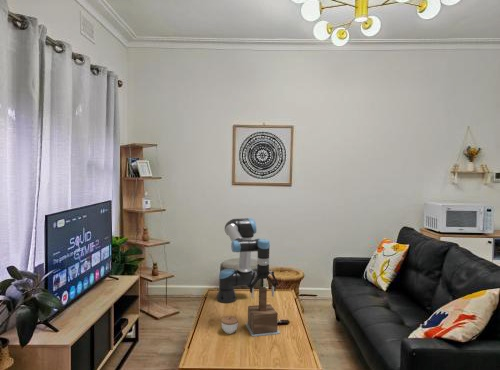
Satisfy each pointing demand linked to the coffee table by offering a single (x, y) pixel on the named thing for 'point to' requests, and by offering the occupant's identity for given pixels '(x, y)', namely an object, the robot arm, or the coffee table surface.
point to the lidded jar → (229, 324)
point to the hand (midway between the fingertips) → (262, 296)
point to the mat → (260, 334)
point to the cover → (262, 315)
